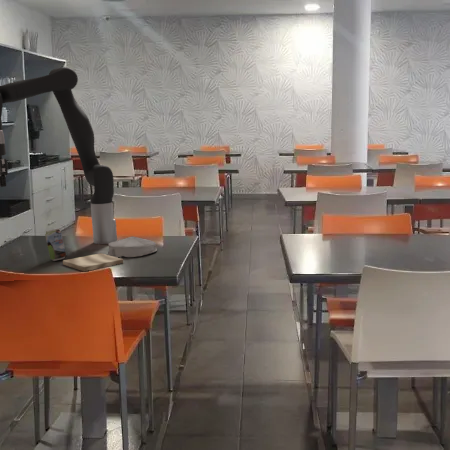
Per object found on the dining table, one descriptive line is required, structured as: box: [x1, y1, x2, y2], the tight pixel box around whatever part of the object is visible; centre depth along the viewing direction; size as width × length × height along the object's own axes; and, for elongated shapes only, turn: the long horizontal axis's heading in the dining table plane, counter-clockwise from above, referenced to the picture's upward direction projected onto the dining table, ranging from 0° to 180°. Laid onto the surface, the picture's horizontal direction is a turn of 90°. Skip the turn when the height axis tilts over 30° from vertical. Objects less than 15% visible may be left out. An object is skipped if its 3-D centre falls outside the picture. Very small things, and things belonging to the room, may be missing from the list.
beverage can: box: [44, 228, 67, 262], centre depth 241 cm, size 6×7×12 cm
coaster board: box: [62, 252, 124, 272], centre depth 233 cm, size 16×16×2 cm
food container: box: [107, 236, 158, 258], centre depth 251 cm, size 20×20×7 cm
